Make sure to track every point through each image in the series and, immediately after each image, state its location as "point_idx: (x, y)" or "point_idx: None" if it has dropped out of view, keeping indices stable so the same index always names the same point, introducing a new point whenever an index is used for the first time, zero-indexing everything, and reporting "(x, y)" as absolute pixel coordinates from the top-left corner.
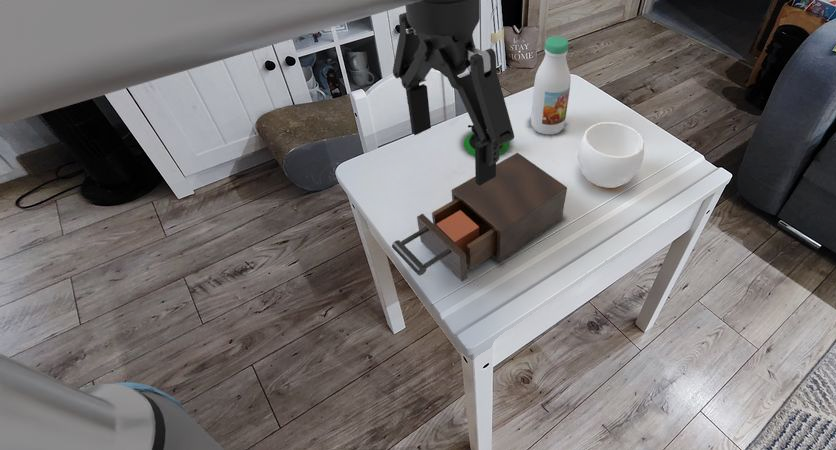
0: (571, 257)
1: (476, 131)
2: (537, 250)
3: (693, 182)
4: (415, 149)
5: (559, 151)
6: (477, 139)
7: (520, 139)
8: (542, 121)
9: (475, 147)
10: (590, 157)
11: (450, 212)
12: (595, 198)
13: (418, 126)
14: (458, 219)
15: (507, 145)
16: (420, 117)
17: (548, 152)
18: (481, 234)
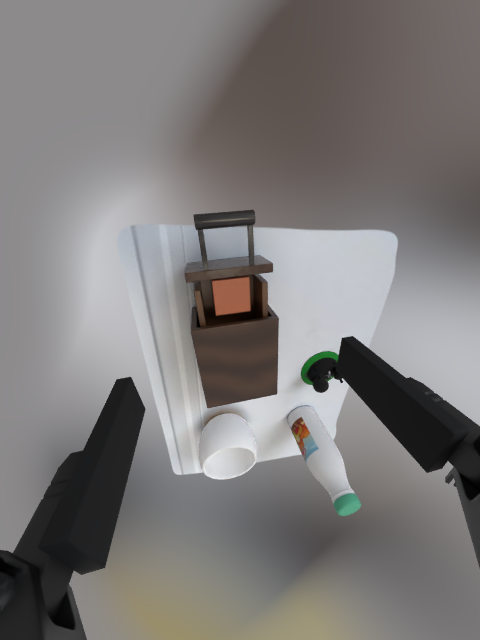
0: (163, 361)
1: (38, 612)
2: (186, 343)
3: (181, 462)
4: (365, 314)
5: (270, 409)
6: (67, 544)
7: (303, 392)
8: (302, 419)
9: (80, 497)
10: (228, 438)
11: (259, 300)
12: None
13: (351, 357)
14: (239, 302)
15: (305, 381)
16: (365, 377)
17: (275, 402)
18: None
